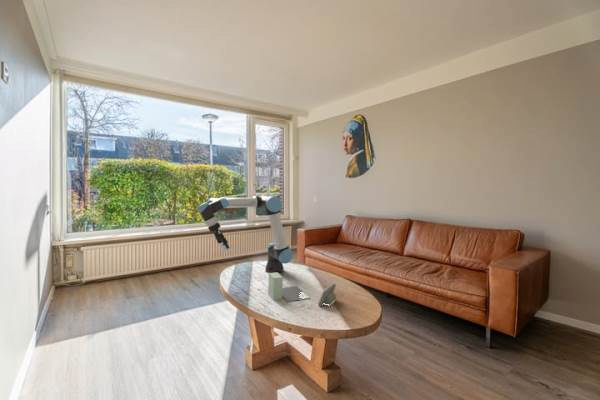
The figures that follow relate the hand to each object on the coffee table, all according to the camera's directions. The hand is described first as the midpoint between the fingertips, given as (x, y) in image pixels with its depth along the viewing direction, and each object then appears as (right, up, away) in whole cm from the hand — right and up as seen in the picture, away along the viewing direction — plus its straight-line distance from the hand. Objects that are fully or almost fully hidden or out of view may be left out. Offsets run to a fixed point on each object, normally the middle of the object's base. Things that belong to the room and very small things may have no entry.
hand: (227, 251), depth 194 cm
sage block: (+33, -27, -10) cm, 44 cm away
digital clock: (+66, -29, -17) cm, 74 cm away
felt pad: (+44, -27, -5) cm, 52 cm away
